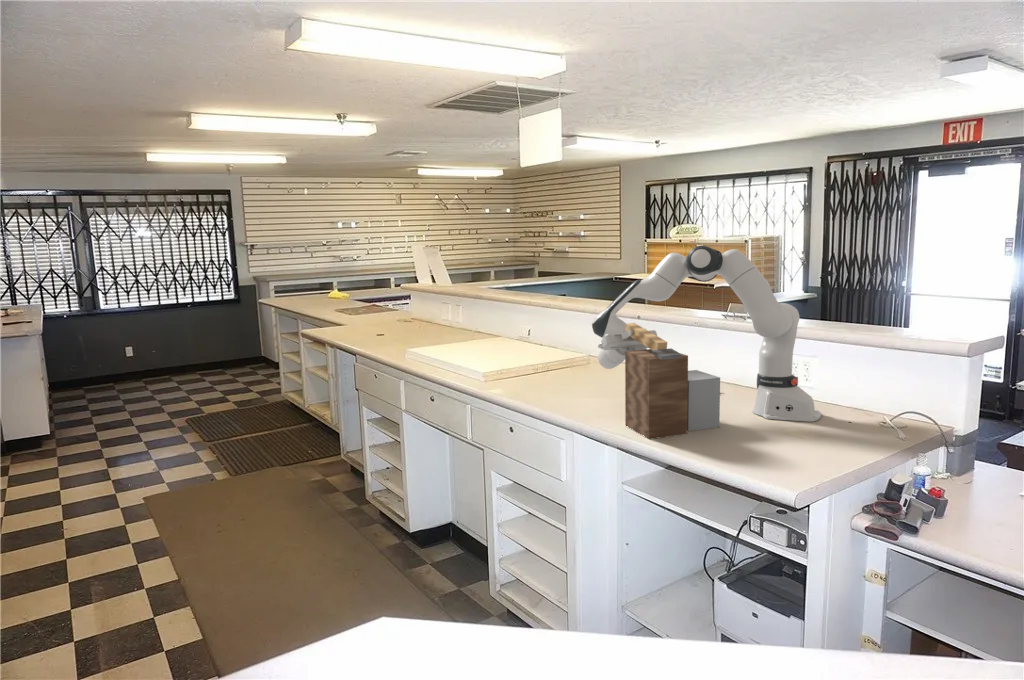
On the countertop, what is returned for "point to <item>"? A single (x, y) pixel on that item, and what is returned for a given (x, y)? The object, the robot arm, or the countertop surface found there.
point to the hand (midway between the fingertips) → (638, 331)
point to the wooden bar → (652, 342)
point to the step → (703, 401)
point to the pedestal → (656, 394)
